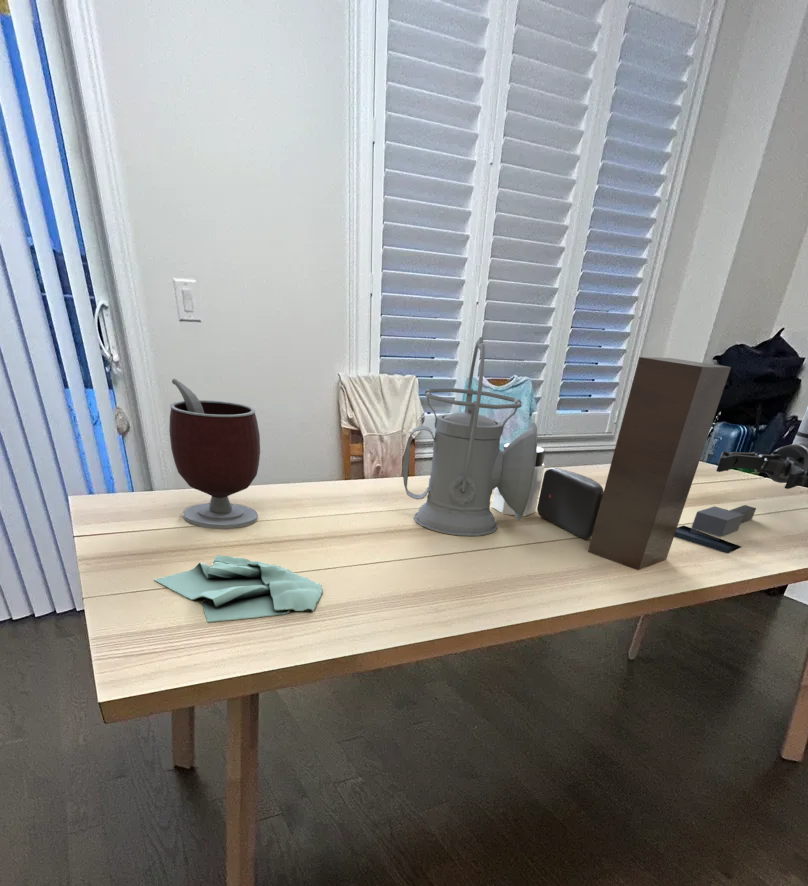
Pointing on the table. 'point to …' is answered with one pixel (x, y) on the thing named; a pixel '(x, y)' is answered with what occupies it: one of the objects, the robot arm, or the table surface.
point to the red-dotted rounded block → (570, 501)
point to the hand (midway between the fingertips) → (753, 472)
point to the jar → (503, 507)
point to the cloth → (244, 589)
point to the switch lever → (721, 521)
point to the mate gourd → (215, 456)
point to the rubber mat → (705, 540)
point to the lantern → (473, 464)
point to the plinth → (656, 458)
